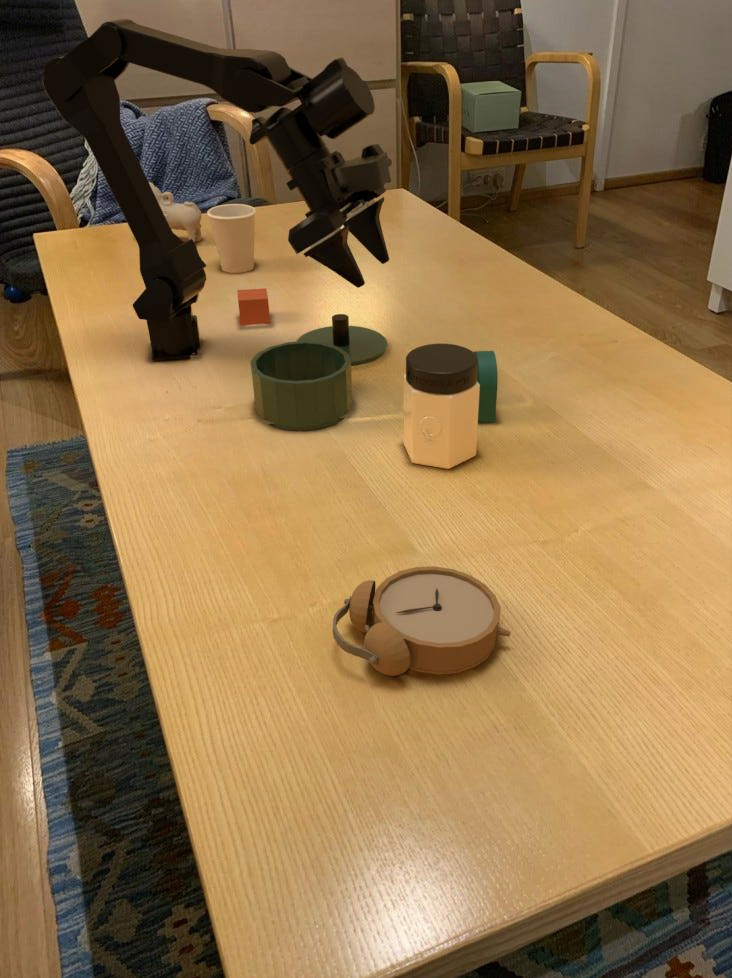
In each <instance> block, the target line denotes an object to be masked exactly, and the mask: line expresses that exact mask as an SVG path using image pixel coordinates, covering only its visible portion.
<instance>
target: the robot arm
mask: <svg viewBox="0 0 732 978" xmlns="http://www.w3.org/2000/svg"><path fill="white" fill-rule="evenodd" d="M130 64H133V65H135V66H140V67H143V68H146V69H149V70H153V71H156V72H158V73H163V74H165V75H169V76H172V77H176V78H178V79H182V80H186V81H189V82H192V83H195V84H199V85H202V86H203V87H206V88H208V89H210V90H212V91H213V92H214V93H215V94H216V95H218V96H219V98H221V99H222V100H223V101H225V102H227V103H229V104H231V105H233V106H234V107H237V108H239V109H241V110H243V111H244V112H248V113H251V114H256V113H257V114H258V113H261V112H263V111H265V110H268V109H271V108H272V107H278V109H277V110H275V112H273V113H272V114H270V115H269V116H268V117H263V116H261V115H260V116H258V117H255V118H253V119H252V120H251V131H250V135H249V140H248V141H249V142H248V143H249V144H250V145H252V146H255V145H256V144H259V143H261V142H262V141H265V140H266V139H267V141H268V142H269V144H270V146H271V148H272V149H273V151H274V152H275V154H276V156H277V158H278V159H279V161H280V163H281V164H282V166H283V168H284V170H285V171H286V172H287V174H288V176H289V178H290V180H288V182H286V183H285V184H286V186H287V187H288V189H289V191H290V192H291V191H293V190H295V189H297V191H298V193H299V194H300V196H301V198H302V200H303V201H304V203H305V205H306V206H307V208H308V209H309V211H308V212H305V213H304V216H305V219H303V220H301V221H300V222H298V223H297V224H296V225H294V226H293V227H291V228H289V230H288V238H287V241H288V243H289V244H290V246H291V248H292V250H293V252H294V253H295V254H296V255H299V254H300V253H302V252H303V251H305V250H306V249H307V250H306V251H305V252H304V253H303V256H304V257H305V258H308V257H309V258H310V259H313V260H314V261H316V262H318V263H319V264H321V265H322V266H325V267H326V268H328V269H329V270H331V271H332V272H333V273H335V274H336V275H338V276H339V277H341V278H342V279H344V280H345V281H346V282H348V283H350V285H353V286H354V287H356V288H361V287H363V286H364V285H365V284H366V281H365V279H364V276H363V274H362V271H361V269H360V267H359V265H358V263H357V261H356V258H355V256H354V253H353V252H352V249H351V247H350V246H349V244H348V237H349V233H350V234H351V235H352V236H353V237H354V238H355V239H356V240H357V241H358V243H360V244H361V245H362V246H363V247H364V248H365V249H366V250H367V251H368V252H369V253H370V255H372V256H373V257H374V258H375V259H376V260H377V261H378V262H379V263H380V264H382V265H384V264H386V263H388V262H389V261H390V256H389V252H388V248H387V244H386V241H385V236H384V233H383V228H382V224H381V220H380V214H381V210H382V206H383V203H384V202H385V196H383V197H381V196H382V195H383V194H385V193H386V192H387V190H386V188H385V185H386V184H387V183H388V184H389V183H391V182H392V178H391V173H390V167H391V166H392V164H393V161H392V159H391V158H389V156H388V153H387V152H385V151H384V149H383V148H382V147H381V146H380V144H379V143H373V144H369V145H366V146H365V147H363V148H362V151H361V156H358V157H355V158H353V159H349V160H345V158H344V156H343V155H342V153H341V152H339V151H338V150H335V151H333V152H332V151H330V148H329V147H328V145H327V144H326V142H325V140H324V139H323V137H324V136H325V137H327V138H329V139H331V140H337V138H339V137H340V136H342V135H343V134H345V133H346V132H348V131H349V130H351V129H352V128H353V127H356V126H357V125H358V124H359V123H361V122H363V121H364V120H365V119H367V118H368V117H370V116H371V115H373V114H374V112H375V109H376V108H375V107H376V106H375V101H374V96H373V94H372V92H371V89H370V88H369V85H368V83H367V82H366V80H364V79H362V78H361V76H360V75H359V74H358V73H357V72H356V71H355V70H354V69H353V68H352V67H350V66H349V65H348V64H347V62H346V60H345V58H344V57H341V56H340V57H338V58H335V59H333V60H332V61H331V62H329V63H328V64H327V65H326V66H325V67H324V69H323V70H322V71H321V72H319V73H317V75H315V76H314V77H311V76H309V75H306V74H305V73H302V72H301V71H298V70H296V69H295V68H292V67H290V66H289V64H288V63H287V61H286V58H285V57H284V56H283V55H282V54H280V53H279V52H276V51H273V50H266V49H265V50H264V49H255V48H254V49H252V48H220V47H216V46H212V45H209V44H206V43H204V42H203V43H202V42H200V41H195V40H193V39H188V38H185V37H182V36H180V35H179V36H178V35H175V34H172V33H169V32H166V31H161V30H158V29H155V28H152V27H148V26H145V25H142V24H139V23H137V22H134V21H133V20H132V19H129V18H119V19H114V20H108V21H105V22H103V23H101V25H99V27H98V28H97V29H96V30H95V31H94V32H93V33H92V34H91V35H90V36H88V37H87V38H86V39H85V40H83V41H81V42H80V43H78V44H77V45H76V46H75V47H73V48H72V49H69V51H68V52H66V53H65V54H64V55H62V56H58V57H54V58H51V59H50V60H49V61H47V63H46V65H45V67H44V69H43V76H42V78H41V80H42V86H43V89H44V91H45V93H46V95H47V97H48V98H49V100H50V101H51V103H52V104H53V106H54V107H55V109H56V110H57V112H58V113H59V115H60V116H61V118H62V119H63V120H64V121H65V122H66V123H68V125H69V126H70V127H72V128H73V129H74V130H75V131H76V132H78V133H79V134H80V135H81V136H82V137H83V138H84V140H85V141H86V142H87V145H88V147H89V148H90V151H91V153H92V155H93V157H94V159H95V161H96V163H97V165H98V167H99V169H100V171H101V174H102V175H103V177H104V179H105V181H106V184H107V185H108V187H109V189H110V191H111V194H112V195H113V198H114V199H115V201H116V204H117V205H118V207H119V209H120V212H121V213H122V216H123V217H124V219H125V221H126V223H127V225H128V228H129V229H130V232H131V234H132V235H133V238H134V239H135V242H136V243H137V245H138V251H139V253H138V257H139V273H140V276H141V279H142V281H143V285H144V287H145V289H144V290H143V291H142V293H141V294H140V295H139V296H138V298H136V300H135V301H134V302H133V304H132V308H133V310H134V312H135V314H136V316H137V319H139V320H142V321H146V325H147V331H148V337H149V341H150V348H151V353H150V359H151V361H167V360H180V359H181V360H182V359H183V360H184V359H191V356H192V357H193V356H197V355H198V350H200V349H201V345H202V343H201V334H200V327H199V319H198V316H197V315H196V314H193V309H192V305H193V304H195V303H197V302H198V299H199V297H200V295H199V294H200V293H201V292H202V291H203V289H204V287H205V286H206V285H205V284H206V281H207V274H206V271H205V268H206V267H207V263H205V261H204V260H203V259H202V257H201V255H200V253H199V251H198V247H197V244H196V242H195V243H194V241H193V240H192V239H190V240H189V239H188V240H186V241H184V240H182V239H181V237H179V236H178V235H176V233H174V232H173V229H171V228H170V226H169V224H168V222H167V220H166V218H165V216H164V214H163V211H162V209H161V207H160V205H159V203H158V201H157V199H156V197H155V195H154V193H153V190H152V188H151V186H150V184H149V180H148V178H147V175H146V173H145V172H144V170H143V168H142V166H141V163H140V161H139V159H138V157H137V154H136V153H135V150H134V149H133V147H132V144H131V141H130V140H129V138H128V136H127V134H126V131H125V130H124V128H123V125H122V121H121V97H120V94H119V90H118V88H117V84H116V82H115V81H116V80H117V79H118V78H119V77H120V76H121V75H122V74H123V73H125V72H126V70H127V68H128V67H129V65H130ZM298 100H299V102H300V104H299V105H298V106H296V107H295V108H293V110H292V109H290V108H289V107H284V106H286V105H289V104H291V103H294V102H296V101H298ZM279 107H280V108H279ZM380 197H381V198H380ZM377 198H379V199H378V200H375V199H377ZM345 217H348V220H346V221H345V222H344V220H343V219H344V218H345ZM342 225H343V226H344V228H342V229H341V228H340V227H341V226H342ZM308 248H309V249H308Z"/></svg>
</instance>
